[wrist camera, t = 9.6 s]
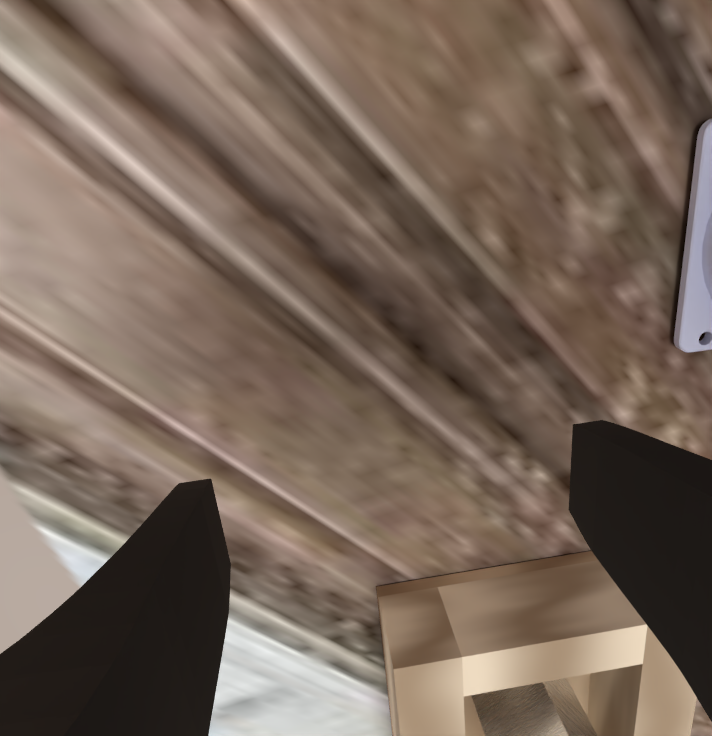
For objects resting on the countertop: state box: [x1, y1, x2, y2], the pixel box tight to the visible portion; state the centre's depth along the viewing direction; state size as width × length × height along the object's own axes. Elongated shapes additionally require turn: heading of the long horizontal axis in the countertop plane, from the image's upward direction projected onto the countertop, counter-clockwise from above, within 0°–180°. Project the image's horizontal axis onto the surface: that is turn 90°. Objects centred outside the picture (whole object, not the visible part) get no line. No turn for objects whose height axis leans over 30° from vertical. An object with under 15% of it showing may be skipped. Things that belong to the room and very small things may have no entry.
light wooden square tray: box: [376, 551, 697, 736], centre depth 25 cm, size 12×12×4 cm
